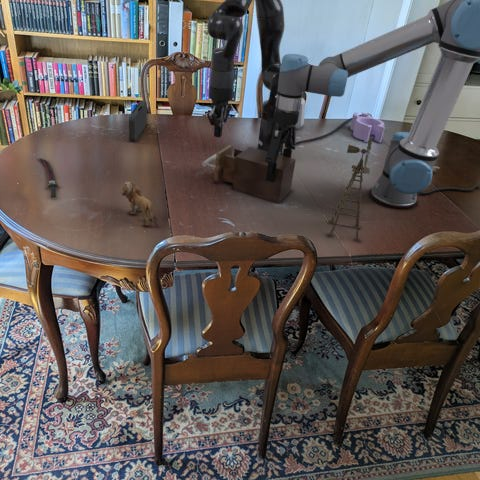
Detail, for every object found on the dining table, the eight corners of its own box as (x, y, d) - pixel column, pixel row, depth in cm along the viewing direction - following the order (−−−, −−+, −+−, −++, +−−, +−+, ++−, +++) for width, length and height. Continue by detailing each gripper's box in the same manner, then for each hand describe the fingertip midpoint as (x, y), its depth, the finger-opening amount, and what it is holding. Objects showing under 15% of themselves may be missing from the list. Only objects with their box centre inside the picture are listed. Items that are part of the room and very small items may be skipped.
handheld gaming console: (140, 122, 202) (140, 99, 196) (147, 123, 202) (146, 100, 196) (128, 141, 182) (127, 116, 177) (135, 142, 182) (134, 117, 177)
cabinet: (232, 189, 157) (235, 156, 150) (246, 177, 165) (249, 146, 159) (278, 203, 151) (283, 170, 145) (290, 191, 159) (295, 159, 153)
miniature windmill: (357, 241, 135) (384, 143, 119) (328, 236, 136) (351, 138, 120) (357, 226, 143) (382, 132, 127) (330, 221, 144) (351, 127, 128)
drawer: (200, 175, 161) (201, 149, 156) (214, 166, 168) (215, 140, 163) (255, 192, 154) (259, 165, 149) (267, 182, 161) (271, 156, 156)
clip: (343, 126, 223) (346, 112, 219) (367, 127, 225) (371, 113, 221) (360, 142, 206) (364, 127, 202) (386, 142, 209) (390, 127, 205)
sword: (61, 197, 141) (61, 193, 140) (50, 198, 139) (50, 194, 139) (49, 160, 164) (48, 156, 163) (39, 160, 163) (39, 157, 162)
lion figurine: (118, 210, 138) (116, 182, 133) (132, 204, 141) (131, 177, 137) (151, 229, 130) (150, 201, 126) (165, 223, 134) (165, 195, 129)
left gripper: (220, 77, 153) (217, 128, 163) (200, 85, 143) (197, 139, 152) (241, 82, 151) (236, 133, 160) (221, 90, 141) (218, 145, 150)
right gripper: (290, 97, 152) (281, 159, 163) (259, 116, 133) (251, 184, 144) (312, 102, 149) (301, 164, 161) (283, 122, 130) (273, 191, 142)
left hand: (217, 136), depth 156 cm, fingers closed
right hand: (277, 174), depth 152 cm, fingers open, 12 cm apart
